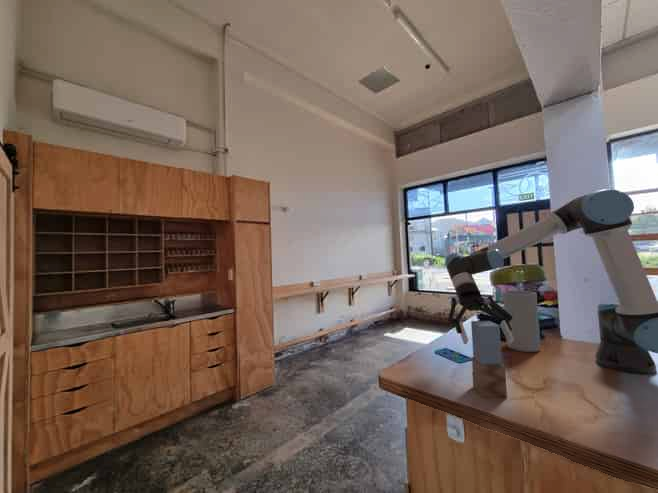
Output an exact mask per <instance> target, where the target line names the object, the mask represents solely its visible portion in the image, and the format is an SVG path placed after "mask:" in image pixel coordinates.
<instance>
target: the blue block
mask: <svg viewBox="0 0 658 493" xmlns="http://www.w3.org/2000/svg"><path fill="white" fill-rule="evenodd" d="M470 323H471V324H470V326H471V339H472V340H471V341H472V342H471V343H472V357H474V358H475V359H476V360H477V361H478V362H479V363H480V364H481V365H502V364H503V360H502V347H501V346H502V343H501V330H500V328H501V326H500V324H497V323H495V322H493V321H492V320H471V321H470Z"/></svg>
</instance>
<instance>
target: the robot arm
mask: <svg viewBox="0 0 658 493" xmlns="http://www.w3.org/2000/svg"><path fill="white" fill-rule="evenodd" d="M634 209H635V205H634V201H633V200H632V197H630V196H629V195H628V194H627V193H626V192H624V191H621V190H618V189H613V188H612V189H611V188H610V189H609V188H608V189H607V188H606V189H601V190H600V189H599V190H596V191H593V192H590V193H587V194H584V195H581V196H579V197H577V198H574V199H572V200H570V201H569V202H566V203H565V204H564V205H562V206H560V207H559V208H557V209H554V211H551V212H549V213H548V214H547V217H545V218H542V219H541V220H538V221H537V222H534V223H533V224H530V225H528V226H527V227H524V228H522V229H520V230H518V231H515V232H513V233H511V234H510V235H508V236H505V237H503V238H501V239H499V240H497V241H495V242H493V243H491V244H489V245H487V246H485V247H483V248H481V249H479V250H474V251H473V252H471V253H470V254H469V255H465V256H463V254H462V253H459V252H457V253H456V252H454V253H450V254H449V255H447V256H446V258H445V259H444V264H445V268H446V270H447V273H448V275H449V278H450V280H451V283H452V286H453V289H454V290H455V293H456V296H457V298H456V297H451V300H450V311H449V314H448V318H447V324H448V325H452V326H453V327H454V328H455V331H456V333H457V334H460V337H461V339H462V342H463V344H464V345H467V344H468V341H469V337H468V335H467V332H466V329H465V326H464V325H463V321H461V319H462V318H463V316H464V314H465V313H466V311H469V312H473V311H474V312H475V311H477V312H478V311H481V312H482V313H485V314H487V315H488V316H489V317H491V318H493V319H494V320H496V321H497V322H499V323H500V324H499V326H500V328H501V331H502V332H503V334H504V337H505V339H507V341H508V343H512V342H513V340H514V337H513V335H512V333H511V331H512V328H511V326H510V324H509V322H510V321H511V320H512V318H513V317H512V316H511V315H510V314H509V313H508V312H506V311H505V310H504V307H502V306H501V305H500V304H498V302H496V301H495V300H494V298H493V297H492V296H491V295H488V297H483V296H482V295H481V292H480V289H479V286H478V285H477V283H476V281H475V279H474V277H473V275H476V274H479V273H484V272H488V271H493V270H497V269H500V268H501V269H502V268H503V267H504V264H505V263H504V259H506V258H509V257H510V256H512V255H515V254H518V253H519V252H521V251H524V250H526V249H529V248H531V247H533V246H535V245H537V244H540V243H541V242H544V241H545V240H547V239H550V238H553V237H555V236H557V235H558V234H560V235H561V234H562V235H565V234H568V233H570V232H573V231H575V230H579V229H582V232H584V235H585V236H587V237H589V238H592V239H593V240H592V241H593V243H594V245H595V247H596V250H597V252H598V255H599V258H600V260H601V262H602V264H603V267H604V270H605V272H606V275H607V277H608V280H609V282H610V285H611V287H612V290H613V292H614V295H615V297H616V299H617V302H600V303H599V304H598V306H597V311H596V312H597V316H598V317H597V318H598V329H599V337H600V338H599V339H600V341H599V345H598V347H597V349H596V352H595V355H594V356H595V361H596V363H597V364H599V365H601V366H603V367H606V368H609V369H612V370H616V371H618V372H619V371H620V372H625V373H631V374H640V375H650V374H651V375H653V374H655V373H656V372H657V365H656V363H655V360H654V359H653V357H652V355H651V353H655V354H658V300H657V297H656V294H655V292H654V290H653V288H652V284H651V283H650V281H649V278H648V276H647V273H646V271H645V268H644V266H643V263H642V261H641V259H640V257H639V256H640V255H639V254H638V251H637V249H636V247H635V244H634V242H633V240H632V237H631V235H630V233H629V229H630V228H631V226H632V225H633V222H632V219H631V218H630V217H631V216H632V213H633V212H634ZM458 304H459V305H461V306H462V308H461V309H460V311H459V312H458V314H457V315H456V317H455V318H454V315H455V311H456V306H457V305H458ZM507 341H506V342H507ZM650 352H651V353H650Z"/></svg>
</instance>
